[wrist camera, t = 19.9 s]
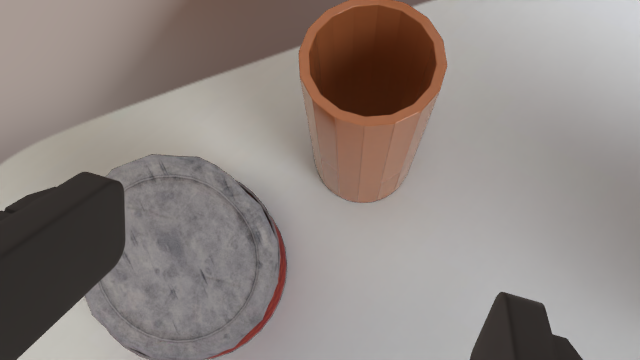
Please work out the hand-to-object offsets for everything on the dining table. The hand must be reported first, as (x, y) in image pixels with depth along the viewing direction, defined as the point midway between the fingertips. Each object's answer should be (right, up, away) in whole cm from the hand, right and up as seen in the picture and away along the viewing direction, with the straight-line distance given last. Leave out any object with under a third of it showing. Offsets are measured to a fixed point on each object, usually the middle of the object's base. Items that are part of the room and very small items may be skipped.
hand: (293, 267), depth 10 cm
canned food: (-6, -3, +17) cm, 19 cm away
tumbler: (+3, +3, +19) cm, 19 cm away
